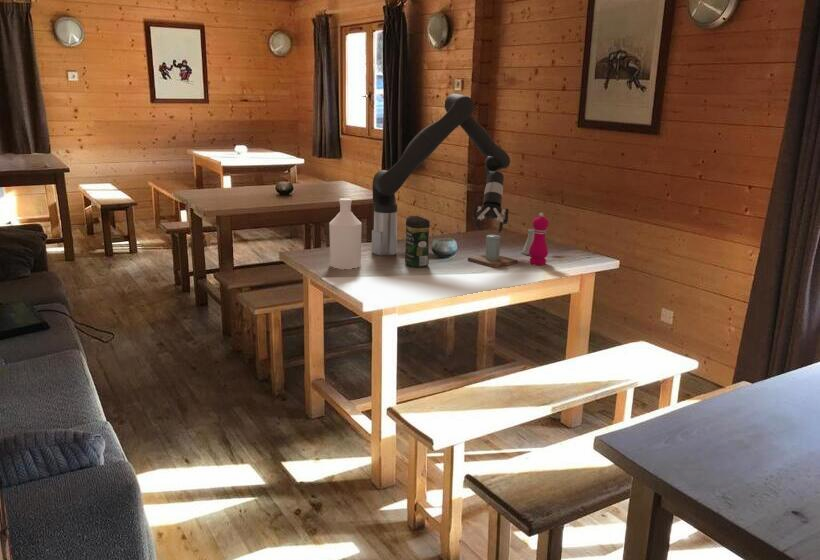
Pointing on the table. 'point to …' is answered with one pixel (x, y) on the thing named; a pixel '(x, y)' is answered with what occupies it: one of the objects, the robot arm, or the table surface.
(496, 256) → the grey canister
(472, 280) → the table surface
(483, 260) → the post stand
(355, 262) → the bottle
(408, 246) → the coffee jar
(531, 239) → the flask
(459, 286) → the table surface
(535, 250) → the pepper mill
